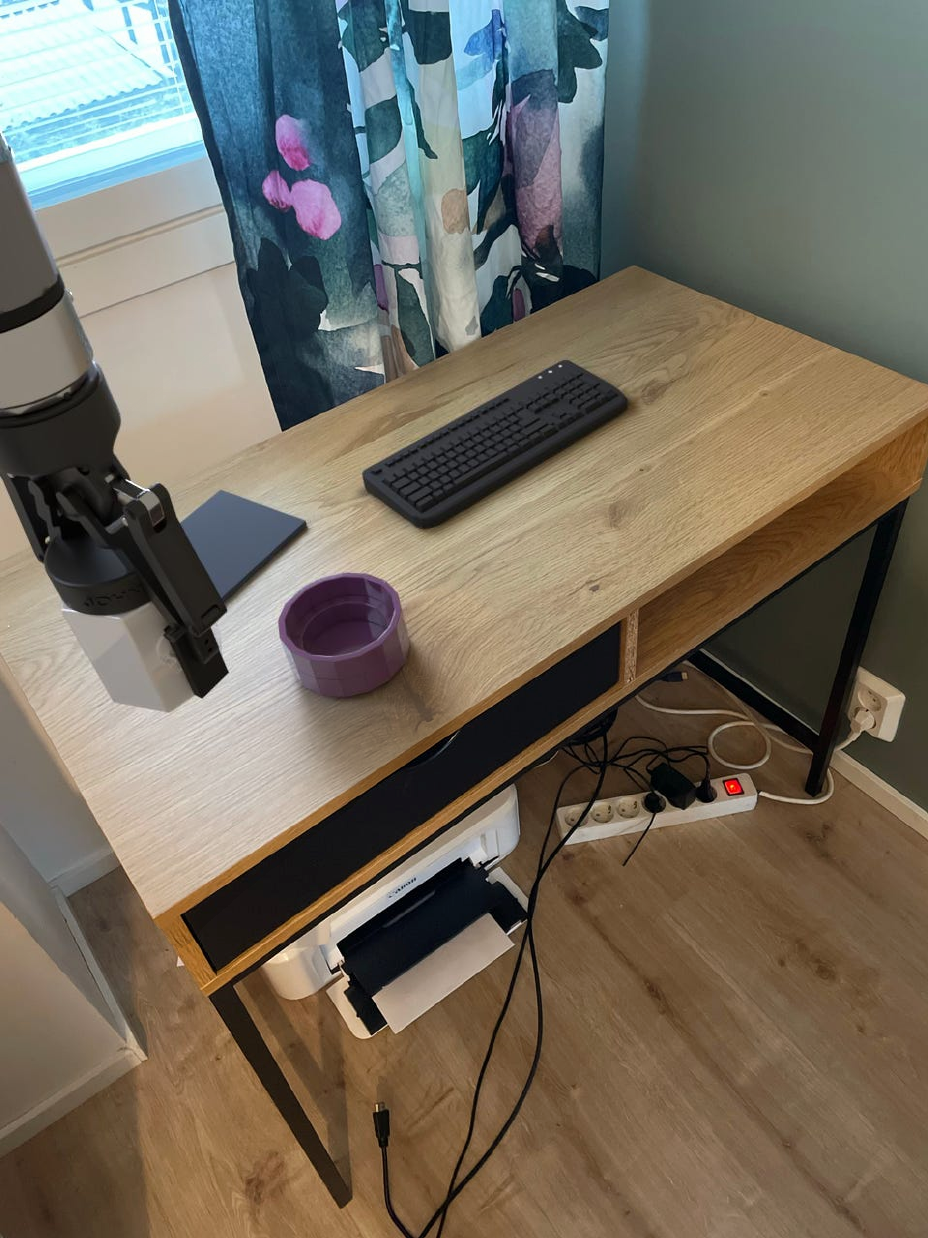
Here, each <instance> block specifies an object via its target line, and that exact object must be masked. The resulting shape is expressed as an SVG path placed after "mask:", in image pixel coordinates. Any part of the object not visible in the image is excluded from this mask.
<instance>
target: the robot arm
mask: <svg viewBox="0 0 928 1238" xmlns="http://www.w3.org/2000/svg"><path fill="white" fill-rule="evenodd" d="M15 158H16V156H15V153H14V151H13V148H12V147H11V146H10V145H9V144H8V143H7V141H6V138H5V136H4V134H3V132H2V130H1V129H0V479H1V481H2V482H3V485H4V487H5V490H6V492H7V494H8V496H9V498H10V501H11V503H12V505H13V509H14V511H15V512H16V515H17V517H18V519H19V523H20V524H21V526H22V529H23V530H24V531H23V532H24V534H25V536H26V538H27V540H28V542H29V545H30V547H31V550H32V552H33V554H34V556H35V557H36V559H37V561H38V562H39V563H41V564H42V565H44V558H45V554H46V551H47V548H48V546H49V545H50V543H51V542H52V540H53V539H54V538H55V537H57V538H59V539H63V538H65V537H66V536H68V535H69V534H70V533H72V532H73V531H74V530H76V529H77V528H78V527H80V526H81V525H83V527H84V528H85V529H86V530H87V532H88V533H89V534H90V536H91V537H92V538H93V539H94V541H95V542H96V543H97V545H98V546H99V547H100V548H102V549H111V550H112V551H113V552H114V553H115V555H116V556H117V557H118V559H119V560H120V561H121V563H122V564H123V565H124V566H125V568H126V569H128V570H130V571H132V572H134V573H135V574H136V575H137V577H138V580H139V582H140V584H141V586H142V588H143V590H144V592H145V594H146V595H147V596H148V598H149V599H150V600H151V602H152V603H153V604H154V606H155V607H156V608H157V609H158V611H159V612H160V613H161V615H162V616H163V617H164V619H165V620H166V621H167V622H168V624H169V625H168V626H167V627H166V628H165V629H163V630H164V632H165V634H164V635H163V636H164V637H165V638H166V639H167V640H168V641H169V642H170V645H171V647H172V649H173V651H174V653H175V655H176V657H177V659H178V661H179V663H180V666H181V668H182V670H183V672H184V674H185V676H186V678H187V680H188V682H189V684H190V687H191V689H192V691H193V693H194V695H196V697H198V698H200V699H204V698H205V697H206V696H207V695H208V694H209V693H210V692H211V691H212V690H213V689H214V688H215V687H216V686H217V685H218V684H219V683H220V682H222V680H223V679H224V678H226V677H227V675H229V673H230V671H229V669H228V667H227V664H226V662H225V659H224V657H223V654H222V655H221V652H220V650H219V645H218V643H217V641H216V638H215V637H214V634H213V631H212V629H211V626H212V625H214V624H215V623H217V622H218V621H219V620H220V619H221V618H222V617H223V616H225V615H226V614H227V613H228V607H227V605H226V603H225V601H224V602H223V600H222V598H221V596H220V595H219V593H218V591H217V589H216V587H215V586H214V584H213V582H212V580H211V578H210V577H209V575H208V573H207V571H206V569H205V568H204V566H203V564H202V562H201V560H200V559H199V557H198V555H197V553H196V551H195V549H194V548H193V546H192V544H191V542H190V540H189V539H188V537H187V535H186V533H185V531H184V530H183V528H182V526H181V524H180V522H181V521H180V520H179V519H178V518H177V517H178V516H177V513H176V510H175V508H174V504H173V500H172V497H171V494H170V492H169V490H168V489H167V487H166V486H165V485H164V484H162V483H160V482H158V481H156V482H154V483H153V484H151V485H150V486H148V487H147V488H143V487H141V486H139V485H137V484H135V483H133V482H132V479H131V476H130V474H129V472H128V471H127V469H126V468H125V467H124V465H123V464H122V463H121V461H120V460H119V457H117V455H116V454H115V452H114V450H115V444H116V440H117V437H118V434H119V432H120V429H121V425H122V416H121V412H120V410H119V407H118V404H117V402H116V400H115V398H114V394H113V393H112V391H111V389H110V386H109V384H108V381H107V378H106V377H105V374H104V372H103V369H102V367H101V366H100V364H99V363H98V362H97V361H94V360H93V359H94V349H93V348H92V346H91V342H90V341H89V339H88V336H87V334H86V331H85V330H84V327H83V325H82V323H81V320H80V317H79V316H78V313H77V311H76V309H75V305H74V301H75V299H74V297H73V293H72V292H71V291H69V290H68V289H67V288H66V286H65V281H64V278H63V277H62V275H61V271H60V269H59V267H58V265H57V262H56V260H55V258H54V256H53V253H52V251H51V248H50V246H49V243H48V241H47V238H46V236H45V233H44V231H43V228H42V226H41V223H40V220H39V219H38V216H37V213H36V211H35V209H34V206H33V204H32V201H31V198H30V195H29V194H28V192H27V189H26V187H25V184H24V182H23V179H22V176H21V174H20V172H19V169H18V167H17V165H16V161H15ZM123 515H124V517H123V518H122V522H121V523H120V524H119V525H117V526H116V527H115V528H113V529H112V530H111V531H110V532H108V531H107V530H106V529H105V528H106V527H108V526H110V525H111V524H113V523H114V522H115V521H116V520H118V519H119V518H120V517H122V516H123ZM48 538H49V540H47V541H46V539H48Z"/></svg>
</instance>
